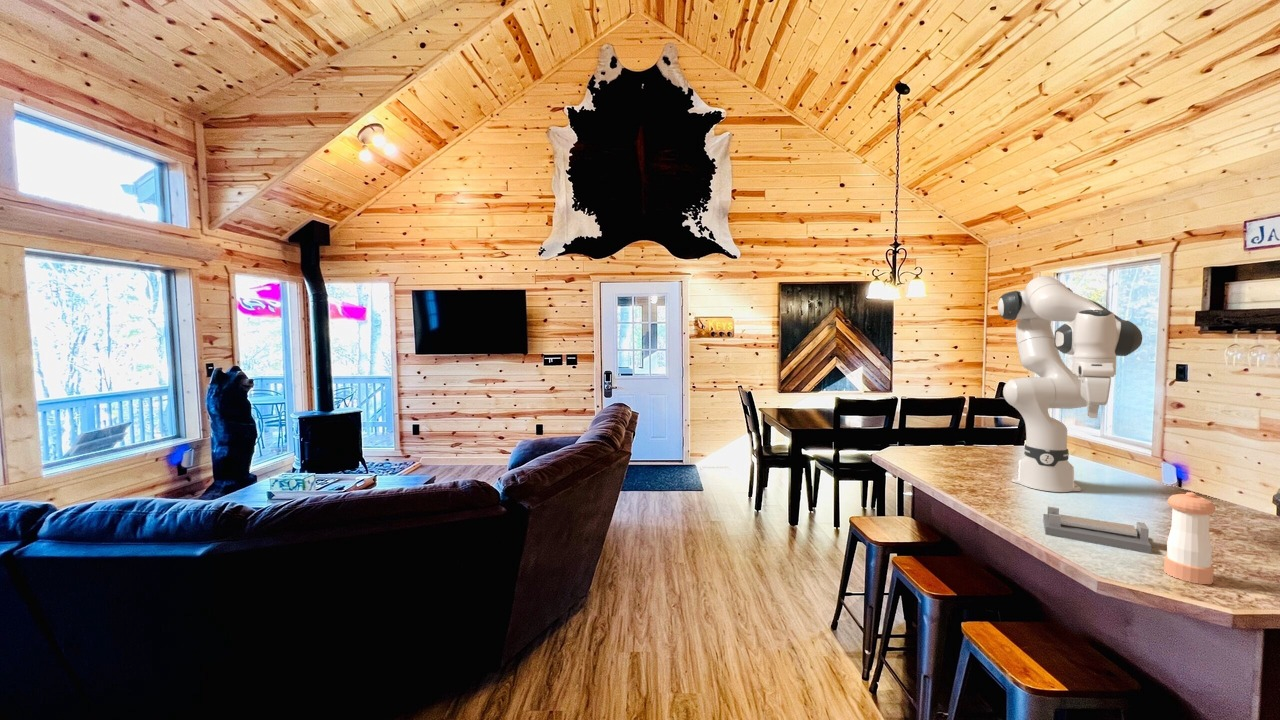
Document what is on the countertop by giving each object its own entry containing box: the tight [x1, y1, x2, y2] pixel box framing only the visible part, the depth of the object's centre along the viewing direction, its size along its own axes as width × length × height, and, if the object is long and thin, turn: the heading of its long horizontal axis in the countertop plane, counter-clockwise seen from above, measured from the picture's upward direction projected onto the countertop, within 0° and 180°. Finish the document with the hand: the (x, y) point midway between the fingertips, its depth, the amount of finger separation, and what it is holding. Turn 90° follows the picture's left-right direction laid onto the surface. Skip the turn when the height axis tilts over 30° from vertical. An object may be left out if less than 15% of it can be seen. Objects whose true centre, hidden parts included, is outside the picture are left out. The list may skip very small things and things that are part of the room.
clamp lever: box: [1050, 513, 1137, 536], centre depth 130 cm, size 5×17×2 cm, turn 52°
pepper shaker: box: [1163, 491, 1216, 585], centre depth 107 cm, size 7×7×19 cm
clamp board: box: [1042, 505, 1152, 555], centre depth 129 cm, size 12×20×5 cm, turn 52°
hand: (1092, 417), depth 134 cm, fingers closed
